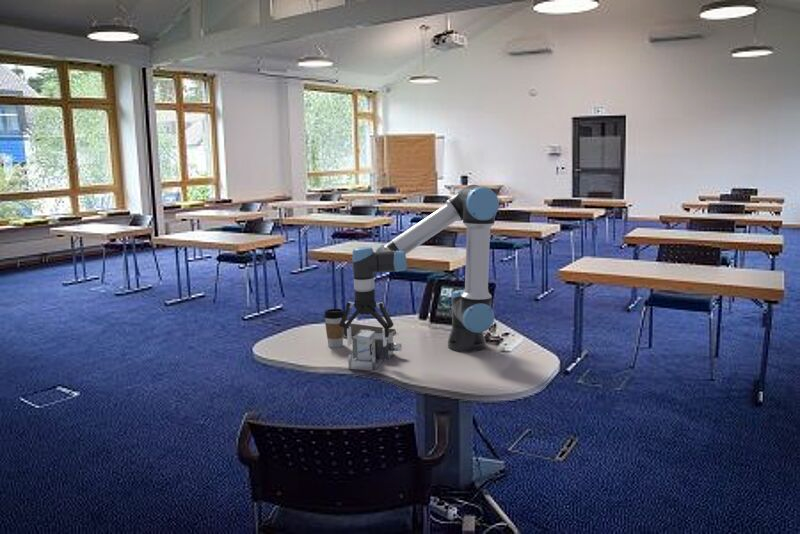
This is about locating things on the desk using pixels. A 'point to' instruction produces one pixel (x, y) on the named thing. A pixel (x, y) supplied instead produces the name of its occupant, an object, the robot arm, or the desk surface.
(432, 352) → the desk surface
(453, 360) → the desk surface
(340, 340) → the coffee cup
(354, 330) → the hardcover book
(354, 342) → the motor block
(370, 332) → the ink box
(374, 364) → the clip bracket
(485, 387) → the desk surface
